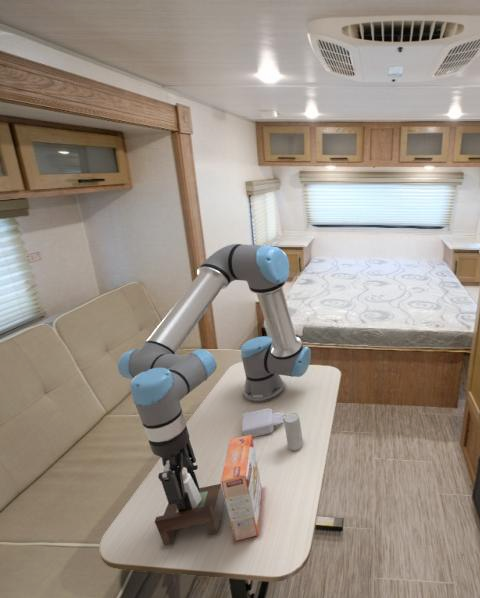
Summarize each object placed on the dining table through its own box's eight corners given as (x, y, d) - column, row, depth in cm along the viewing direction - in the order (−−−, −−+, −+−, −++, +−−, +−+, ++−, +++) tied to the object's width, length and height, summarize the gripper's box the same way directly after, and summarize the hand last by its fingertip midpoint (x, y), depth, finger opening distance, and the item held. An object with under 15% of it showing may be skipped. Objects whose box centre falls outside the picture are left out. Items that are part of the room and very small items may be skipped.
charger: (289, 430, 121) (243, 440, 116) (288, 413, 129) (245, 422, 124) (288, 419, 119) (241, 429, 114) (287, 403, 127) (243, 412, 122)
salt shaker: (203, 490, 91) (194, 459, 87) (200, 508, 86) (190, 477, 82) (180, 496, 89) (169, 465, 85) (175, 515, 84) (164, 483, 80)
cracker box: (260, 535, 87) (246, 475, 79) (234, 542, 85) (218, 482, 77) (264, 488, 99) (252, 432, 91) (241, 493, 98) (228, 437, 90)
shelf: (177, 509, 93) (169, 485, 90) (224, 498, 96) (218, 475, 93) (164, 546, 84) (154, 521, 81) (217, 533, 87) (209, 509, 84)
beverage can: (298, 452, 112) (294, 423, 107) (285, 450, 112) (280, 421, 108) (305, 441, 116) (301, 413, 111) (292, 439, 117) (288, 411, 112)
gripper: (163, 408, 86) (185, 475, 95) (130, 467, 70) (160, 541, 78) (196, 403, 88) (214, 469, 97) (172, 459, 71) (196, 533, 80)
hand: (190, 501), depth 88 cm, fingers closed on salt shaker, 5 cm apart
